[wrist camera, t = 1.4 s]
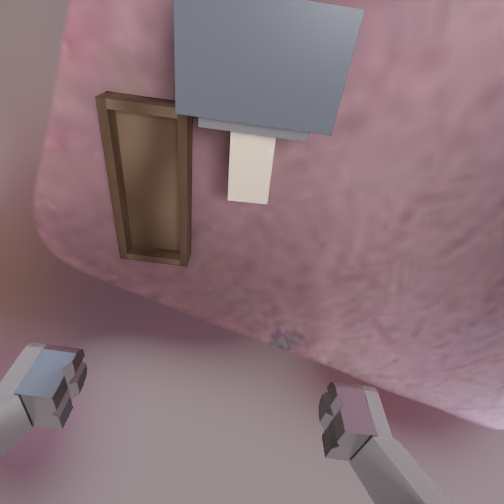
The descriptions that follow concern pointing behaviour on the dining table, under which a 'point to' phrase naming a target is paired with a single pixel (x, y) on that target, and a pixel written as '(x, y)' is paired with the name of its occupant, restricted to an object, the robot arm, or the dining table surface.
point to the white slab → (250, 167)
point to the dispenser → (263, 64)
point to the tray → (148, 176)
